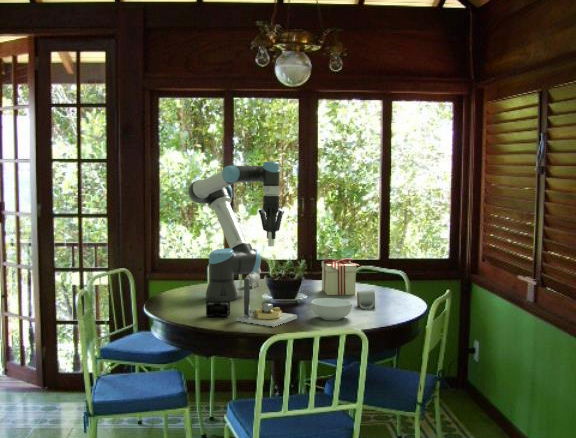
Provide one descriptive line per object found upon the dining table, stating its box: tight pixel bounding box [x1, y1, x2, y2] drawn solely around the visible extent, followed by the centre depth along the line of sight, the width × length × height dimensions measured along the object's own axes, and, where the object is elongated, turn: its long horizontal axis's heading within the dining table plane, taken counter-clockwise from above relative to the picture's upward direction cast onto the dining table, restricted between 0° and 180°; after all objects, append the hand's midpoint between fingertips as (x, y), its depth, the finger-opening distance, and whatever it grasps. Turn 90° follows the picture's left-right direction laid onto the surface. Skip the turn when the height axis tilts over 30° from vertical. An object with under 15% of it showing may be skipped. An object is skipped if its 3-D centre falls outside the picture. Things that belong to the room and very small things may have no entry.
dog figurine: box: [245, 266, 262, 290], centre depth 353 cm, size 5×13×11 cm, turn 157°
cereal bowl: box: [310, 297, 353, 321], centre depth 282 cm, size 17×17×7 cm
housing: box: [236, 302, 298, 328], centre depth 278 cm, size 18×18×6 cm
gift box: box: [321, 258, 361, 296], centre depth 337 cm, size 17×18×17 cm
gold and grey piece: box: [243, 277, 283, 319], centre depth 278 cm, size 16×11×15 cm
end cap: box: [205, 300, 231, 319], centre depth 284 cm, size 10×7×7 cm
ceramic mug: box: [356, 289, 376, 311], centre depth 304 cm, size 11×8×8 cm
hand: (271, 246), depth 312 cm, fingers closed
